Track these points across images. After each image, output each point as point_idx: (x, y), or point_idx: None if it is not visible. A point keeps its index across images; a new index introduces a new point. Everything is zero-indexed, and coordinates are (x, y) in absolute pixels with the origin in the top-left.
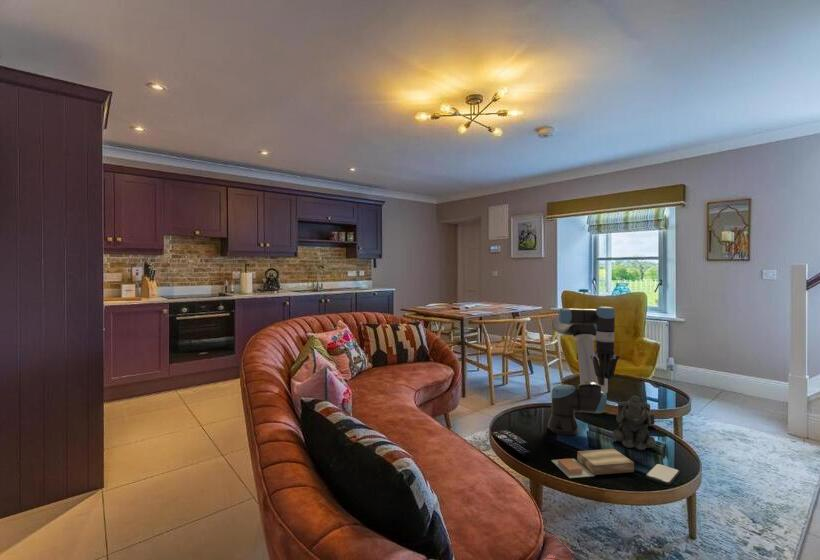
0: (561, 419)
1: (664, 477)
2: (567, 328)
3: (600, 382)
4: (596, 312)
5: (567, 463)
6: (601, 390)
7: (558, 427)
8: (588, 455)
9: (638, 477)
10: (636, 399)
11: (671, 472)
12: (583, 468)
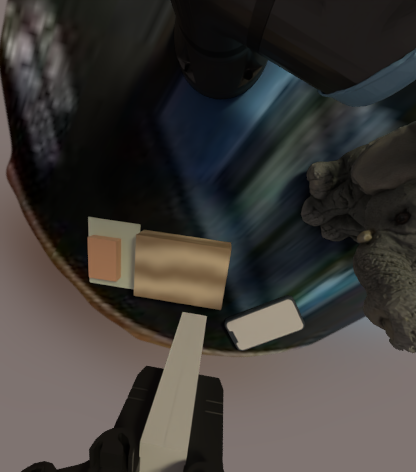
0: (191, 50)
1: (249, 338)
2: None
3: (132, 396)
4: None
5: (98, 257)
6: (180, 322)
7: (188, 61)
8: (148, 258)
9: (212, 314)
10: (393, 343)
11: (281, 329)
12: (133, 264)
